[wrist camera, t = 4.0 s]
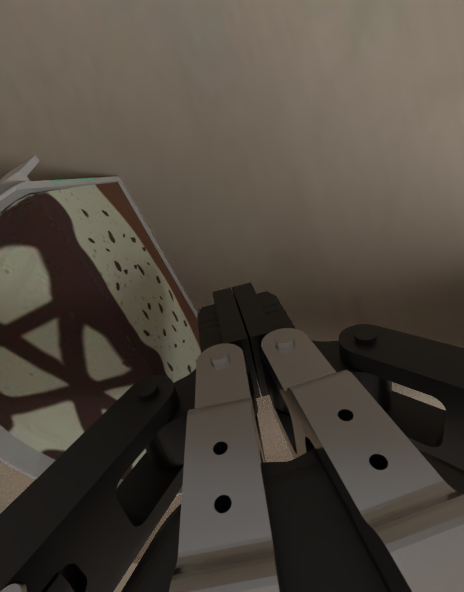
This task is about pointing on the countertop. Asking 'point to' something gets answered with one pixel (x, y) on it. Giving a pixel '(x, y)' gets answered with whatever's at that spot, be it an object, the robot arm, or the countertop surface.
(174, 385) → the robot arm
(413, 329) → the countertop surface
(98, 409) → the food container
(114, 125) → the countertop surface
